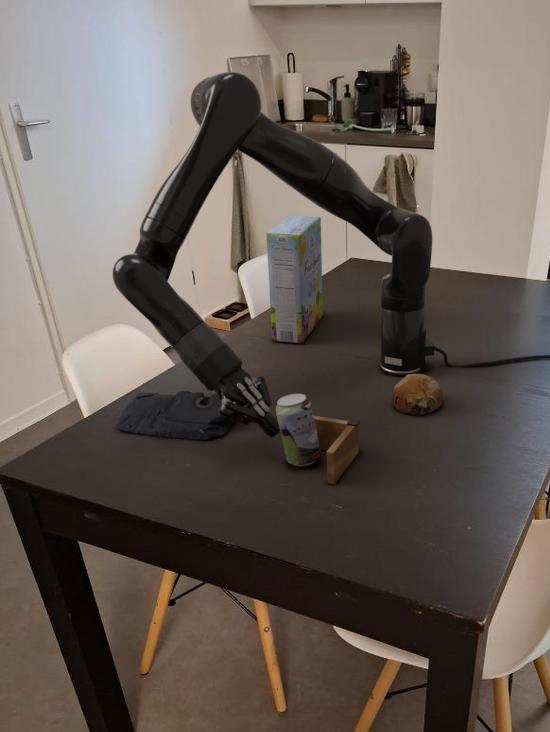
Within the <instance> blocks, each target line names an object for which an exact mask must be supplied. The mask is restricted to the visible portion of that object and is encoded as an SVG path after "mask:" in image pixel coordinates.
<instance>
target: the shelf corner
mask: <svg viewBox="0 0 550 732" xmlns="http://www.w3.org/2000/svg"><path fill="white" fill-rule="evenodd" d="M314 420H315V425H316V430H317V435H318V440H319V445H320V450H322V451H326V452H325V454H326V472H327V484H331V485H335V484H336V483H337V481H338V480H339V479H340V477H341V476H342V475H343V474H344V472H345V471H346V470H347V468H348V467H349V466H350V464H351V463H352V462H353V460H354V459H355V458H356V456H357V455H358V454H359V424H360V423H361V420H360V419H354V418H350V419H349V420H344V419H338V418H331V417H325V416H319V415H318V416H317V415H314Z"/></svg>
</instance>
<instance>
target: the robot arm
mask: <svg viewBox="0 0 550 732" xmlns="http://www.w3.org/2000/svg"><path fill="white" fill-rule="evenodd" d="M259 92H260V91H259V89H258V87H257V86H256V84H255V82H254V81H253V80H251V78H250V77H248V76H247V75H245V74H243V73H240V72H235V71H228V72H227V71H226V72H221V73H217V74H214V75H211V76H208V77H206V78H203V79H202V80H201V81H200V82H198V83H197V84H196V85H195V87H194V88H193V89H192V92H191V94H190V109H191V113H192V115H193V118H194V121H196V123H197V125H198V126H199V128H198V130H197V133H196V135H195V136H194V139H193V141H192V142H191V144H190V146H189V147H188V149H187V151H186V152H185V153H184V155H183V156H182V158H181V159H180V161H179V162H178V164H177V165H175V167H174V169H172V171H171V172H170V174H169V175H168V176H167V178H166V179H165V180H164V182H163V183H162V184H161V186H160V187H159V189H158V191H157V193H156V194H155V196H154V197H153V199H152V202H151V204H150V205H149V208H148V209H147V211H146V213H145V215H144V217H143V220H142V221H141V225H140V227H139V240H138V243H137V245H136V248H135V250H134V252H133V253H129V254H125V255H122V256H121V257H120V258H118V259H117V261H116V262H115V263H114V265H113V268H112V281H113V284H114V285H115V288H116V289H117V291H118V292H119V293H120V295H122V296H123V297H124V299H126V300H127V302H129V303H130V304H131V305H132V307H134V308H135V309H136V311H138V312H139V313H140V314H141V315H142V316H143V317H144V318H145V319H147V321H148V322H150V323H151V325H152V326H153V327H154V329H155V330H156V331H157V333H158V334H159V335H160V337H161V338H162V339H164V341H165V342H166V343H167V344H168V345H169V346H170V348H171V349H173V351H174V352H175V353H176V355H177V356H178V358H179V359H180V361H181V362H182V363H183V364H184V365H185V366H186V367H187V369H189V371H190V372H191V373H192V374H193V375H194V376H195V377H196V378H197V380H199V381H200V383H201V384H202V385H203V386H204V387H205V388H206V390H207V391H210V392H213V391H214V392H215V394H217V395H218V397H219V399H220V400H222V407H221V408H220V409H219V413H220V414H221V415H223V416H226V417H228V418H231V419H234V420H235V421H236V422H239V423H242V424H244V425H247V426H248V425H249V424H251V423H253V424H256V425H258V426H259V428H260V429H261V430H262V431H263V432H264V433H265V434H266V435H267V436H268V437H270V438H271V439H273V438H275V437H276V436H277V435H278V434H279V433H280V428H279V424H278V419H277V418H275V416H274V415H272V413H271V412H270V406H271V405H272V403H273V402H272V399H271V395H270V392H269V388H268V385H267V382H266V379H265V377H264V376H262V375H260V376H258V378H257V377H253V376H251V374H250V373H249V372H247V371H246V370H245V369H243V367H242V366H243V361H242V359H241V358H240V357H239V356H238V355H237V354H236V353H235V352H234V350H233V349H232V348H231V347H230V346H229V345H228V344H227V342H226V341H225V340H224V339H223V338H222V337H221V336H220V334H219V333H218V332H216V330H215V329H214V328H212V326H210V325H209V324H208V323H207V322H206V321H205V320H204V319H203V318H202V316H201V315H200V314H199V313H198V312H197V311H196V310H195V309H194V308H193V307H192V306H191V304H189V302H187V301H186V300H185V299H184V298H182V296H180V294H178V293H177V292H176V290H175V288H173V286H172V285H171V284H170V282H169V279H170V276H171V273H172V272H173V268H174V265H175V264H176V263H175V262H176V259H177V256H178V254H179V251H180V249H181V248H182V246H183V244H184V243H185V241H186V239H187V237H188V235H189V234H190V231H191V229H192V227H193V225H194V223H195V221H196V220H197V217H198V215H199V213H200V211H201V210H202V208H203V205H204V204H205V202H206V200H207V198H208V196H209V195H210V193H211V191H212V190H213V188H214V186H215V185H216V183H217V181H218V180H219V178H220V176H221V175H222V173H224V170H225V168H226V167H227V165H228V164H229V163H230V161H231V159H232V158H233V157H234V155H235V154H236V153H237V151H238V152H240V153H242V154H243V155H246V156H247V157H249V158H250V159H252V160H254V161H255V162H257V163H258V164H259V165H261V166H262V167H264V168H265V169H266V170H267V171H269V172H270V173H271V174H272V175H274V176H275V177H276V178H278V179H279V180H281V181H282V182H283V183H285V184H286V185H287V186H289V187H290V188H291V189H293V190H294V191H296V192H297V193H298V194H300V196H302V197H304V198H305V199H307V200H308V201H310V202H311V203H312V204H314V205H316V206H317V207H319V208H321V210H322V209H323V210H324V211H326V212H327V213H329V214H331V215H332V216H334V217H336V218H338V219H340V220H342V221H345V222H346V223H349V224H350V225H351V226H353V227H355V228H356V229H357V230H358V231H359V232H361V233H362V234H363V235H364V236H365V237H366V238H368V239H369V240H370V242H372V243H373V244H374V245H375V246H377V248H378V249H380V250H381V252H383V253H385V254H387V255H388V256H391V266H390V268H391V269H390V273H389V274H385V275H384V276H383V277H382V279H381V281H380V282H381V283H380V284H381V285H380V289H381V290H380V292H381V293H380V363H379V364H380V370H381V371H382V372H383V373H385V374H388V375H391V376H398V377H405V376H406V375H408V374H420V373H421V372H425V371H426V357H432V356H435V351H436V352H438V353H440V354H441V355H442V356H443V362H444V364H445V365H446V366H447V367H450V368H472V367H484V366H493V365H499V364H504V363H512V362H518V361H519V362H520V361H527V360H536V359H537V360H538V359H550V354H539V355H526V356H518V357H511V358H503V359H497V360H490V361H484V362H483V361H480V362H474V363H467V364H462V365H456V364H453V363H450V362H449V361H448V354H447V353H446V352H445V351H444V350H443V349H441V348H439V347H437V346H436V345H435V344H434V343H433V341H432V340H431V339H430V338H427V329H426V328H425V304H426V303H425V302H426V286H427V283H428V281H429V278H430V274H431V264H432V255H433V230H432V226H431V222H430V221H429V220H428V218H426V217H425V216H424V215H422V214H420V213H417V212H414V211H411V210H408V209H405V208H401V207H398V206H397V205H395V204H393V203H390V202H389V201H387V200H385V199H384V198H382V197H380V196H379V195H378V194H376V193H374V191H372V190H371V189H370V188H369V187H368V186H367V185H366V184H365V182H364V181H363V179H362V178H361V176H360V175H359V173H357V171H356V170H355V169H354V168H353V167H352V166H351V165H350V164H349V163H348V162H347V161H345V160H344V159H343V158H342V157H340V156H339V155H337V153H336V152H334V151H333V150H331V149H330V148H328V147H327V146H325V145H324V144H322V143H321V142H320V141H317V140H315V139H314V138H311V137H309V136H307V135H304V134H303V133H300V132H298V131H295V130H293V129H291V128H288V127H285V126H283V125H282V124H279V123H278V122H276V121H274V120H272V119H271V118H269V117H268V116H266V114H264V113H263V112H262V99H261V95H260V93H259Z"/></svg>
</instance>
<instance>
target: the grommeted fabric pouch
mask: <svg viewBox="0 0 550 732" xmlns="http://www.w3.org/2000/svg"><path fill="white" fill-rule="evenodd" d="M221 407H222V400H220V399H219V397H218V395H217V393H216V392H215V393H213V394H211V395H210V396H205V394H204V392H200V391H198V392H192V391H189V390H180V391H178V392H176V394H162V393H161V394H160V393H158V392H144V391H143V392H140V393H139V394H137V395H136V396H135V397H133V399H132V400H131V401H130V402H129V403H127V405H126V406H125V408H124V409H123V411H121V414H120V416H119V417H118V419H117V420H116V423H115V424H116V425H115V427H114V428H115V429H116V430H118V431H122V432H127V433H130V434H135V435H145V436H149V437H150V436H151V437H152V436H154V437H161V438H162V437H163V438H164V437H165V438H172V439H176V438H177V439H185V440H195V441H196V440H197V441H198V440H201V441H206V440H210V439H212V438H213V437H215V438H216V437H220V438H222V437H223V436H224V435H225V434H226V433H227V432H228V431H229V430H228V429H229V427H230V426H232V425H233V424H234V422H235V421H236V420H234V419H231V418H228V417H226V416H223V415H221V414H220V413H219V409H220V408H221Z"/></svg>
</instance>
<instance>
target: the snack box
mask: <svg viewBox="0 0 550 732" xmlns="http://www.w3.org/2000/svg"><path fill="white" fill-rule="evenodd" d="M321 219H322V217H320V216H315V215H295V214H294V215H289V216H288V217H287V218H286V219H284V220H283V221H281V222H280V223H279V224H277V225H276V226H274V227H273V228H272V229H270V230H268V231H267V233H265V234H266V252H267V253H266V254H267V270H268V271H267V274H268V288H269V306H270V308H269V309H270V325H271V341H272V342H281V343H289V344H303V343H304V342H305V341H306V339H307V337H308V336H309V335H310V334H311V332H312V331H313V329H314V328H315V327H316V325H317V324H318V323H319V321H320V320H321V319H322V317H324V316H323V315H324V314H323V313H324V312H323V311H324V310H323V309H324V308H323V261H322V259H323V258H322V256H323V255H322V220H321Z"/></svg>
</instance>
